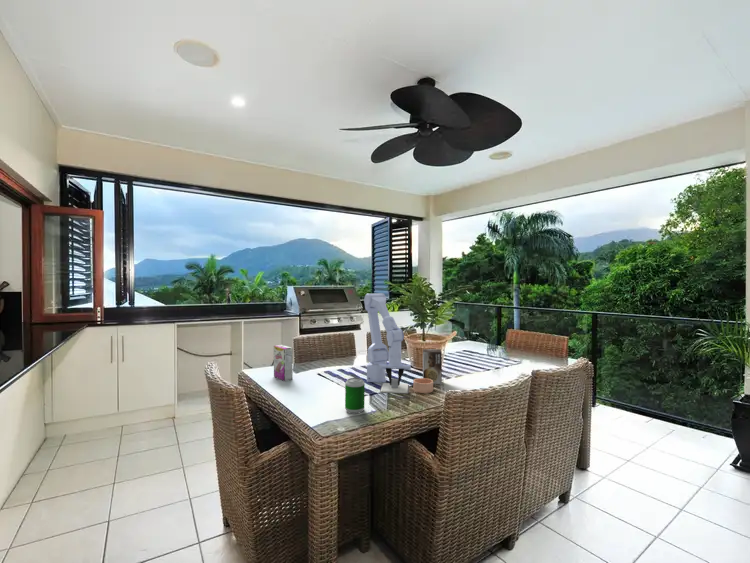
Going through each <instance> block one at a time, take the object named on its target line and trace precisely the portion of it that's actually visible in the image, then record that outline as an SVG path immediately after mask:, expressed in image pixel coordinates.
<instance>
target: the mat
mask: <svg viewBox="0 0 750 563" xmlns="http://www.w3.org/2000/svg"><path fill="white" fill-rule="evenodd" d="M382 385H383V383H382V384H381V387H380V390H379V392H378V393H382V394H383V393H385V394H392V393H391V392H381V388H382ZM409 392H410V384H408V393H402V394H410V393H409Z"/></svg>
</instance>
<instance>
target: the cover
mask: <svg viewBox="0 0 750 563" xmlns="http://www.w3.org/2000/svg"><path fill="white" fill-rule="evenodd" d="M382 384H383V385H382ZM382 384H381V386H382V388H381V387H380V389H381V392H391V393H390V394H403V393H408V385H409V384H408V383H400V385H399V386H398V378H392V380H391V385H390V382H382Z"/></svg>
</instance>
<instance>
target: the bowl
mask: <svg viewBox="0 0 750 563" xmlns="http://www.w3.org/2000/svg"><path fill="white" fill-rule="evenodd" d="M412 382H413V383H412V385H413V387H412V388H413V389H412V390H413V392H416V393H420V394H428V393H432V392H434V384H433V380H431V379H427V378H423V377H420V378H418V377H417V378H414V379H413V381H412Z"/></svg>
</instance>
